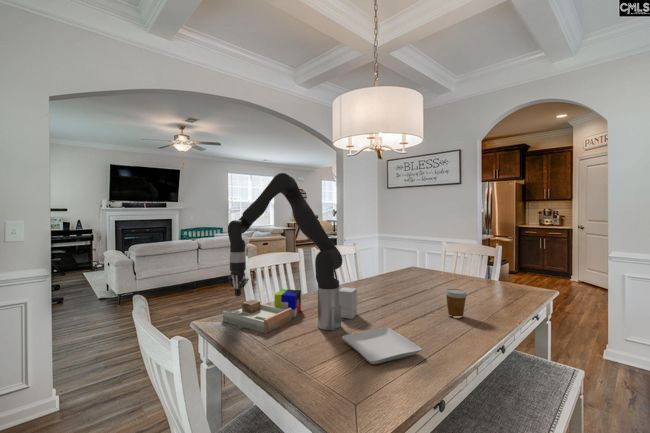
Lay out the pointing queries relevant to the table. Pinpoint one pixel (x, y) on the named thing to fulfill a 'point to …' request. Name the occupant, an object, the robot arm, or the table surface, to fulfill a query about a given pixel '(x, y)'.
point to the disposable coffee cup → (455, 301)
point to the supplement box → (348, 302)
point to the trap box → (260, 318)
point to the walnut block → (251, 306)
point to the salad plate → (381, 345)
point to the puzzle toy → (289, 300)
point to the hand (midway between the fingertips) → (237, 295)
